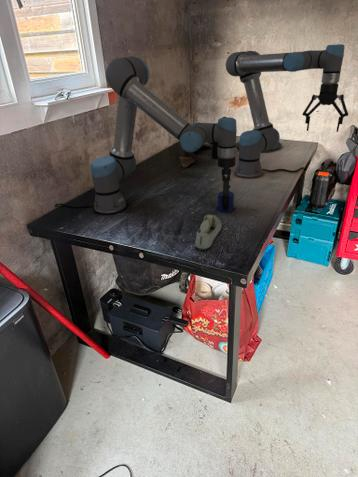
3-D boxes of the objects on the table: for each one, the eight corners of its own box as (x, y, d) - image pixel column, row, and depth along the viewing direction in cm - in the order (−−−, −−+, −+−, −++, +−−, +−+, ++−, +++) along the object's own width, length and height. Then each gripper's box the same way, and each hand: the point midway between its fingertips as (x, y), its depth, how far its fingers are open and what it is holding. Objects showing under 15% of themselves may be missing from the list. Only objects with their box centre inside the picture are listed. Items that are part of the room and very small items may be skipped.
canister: (217, 205, 154) (217, 191, 151) (232, 205, 154) (233, 190, 150) (218, 212, 148) (218, 197, 144) (234, 212, 148) (234, 196, 144)
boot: (197, 157, 223) (197, 126, 213) (191, 168, 203) (190, 135, 193) (185, 157, 225) (183, 126, 215) (178, 168, 205) (176, 135, 195)
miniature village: (250, 138, 260) (251, 126, 256) (289, 145, 237) (291, 132, 233) (223, 147, 242) (223, 134, 237) (263, 155, 219) (264, 141, 215)
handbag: (222, 159, 215) (223, 120, 203) (210, 158, 220) (210, 119, 207) (235, 151, 230) (236, 114, 218) (223, 150, 234) (224, 113, 222)
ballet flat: (225, 222, 139) (225, 205, 135) (213, 252, 119) (212, 233, 115) (205, 220, 141) (205, 203, 137) (190, 250, 121) (189, 231, 117)
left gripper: (235, 164, 129) (234, 216, 141) (235, 149, 147) (233, 196, 159) (216, 164, 130) (216, 215, 142) (218, 150, 148) (218, 196, 160)
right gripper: (300, 84, 152) (294, 131, 163) (360, 83, 144) (350, 133, 154) (301, 82, 158) (296, 128, 169) (359, 81, 149) (350, 129, 160)
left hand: (225, 205), depth 150 cm, fingers open, 8 cm apart
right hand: (322, 130), depth 162 cm, fingers open, 13 cm apart
